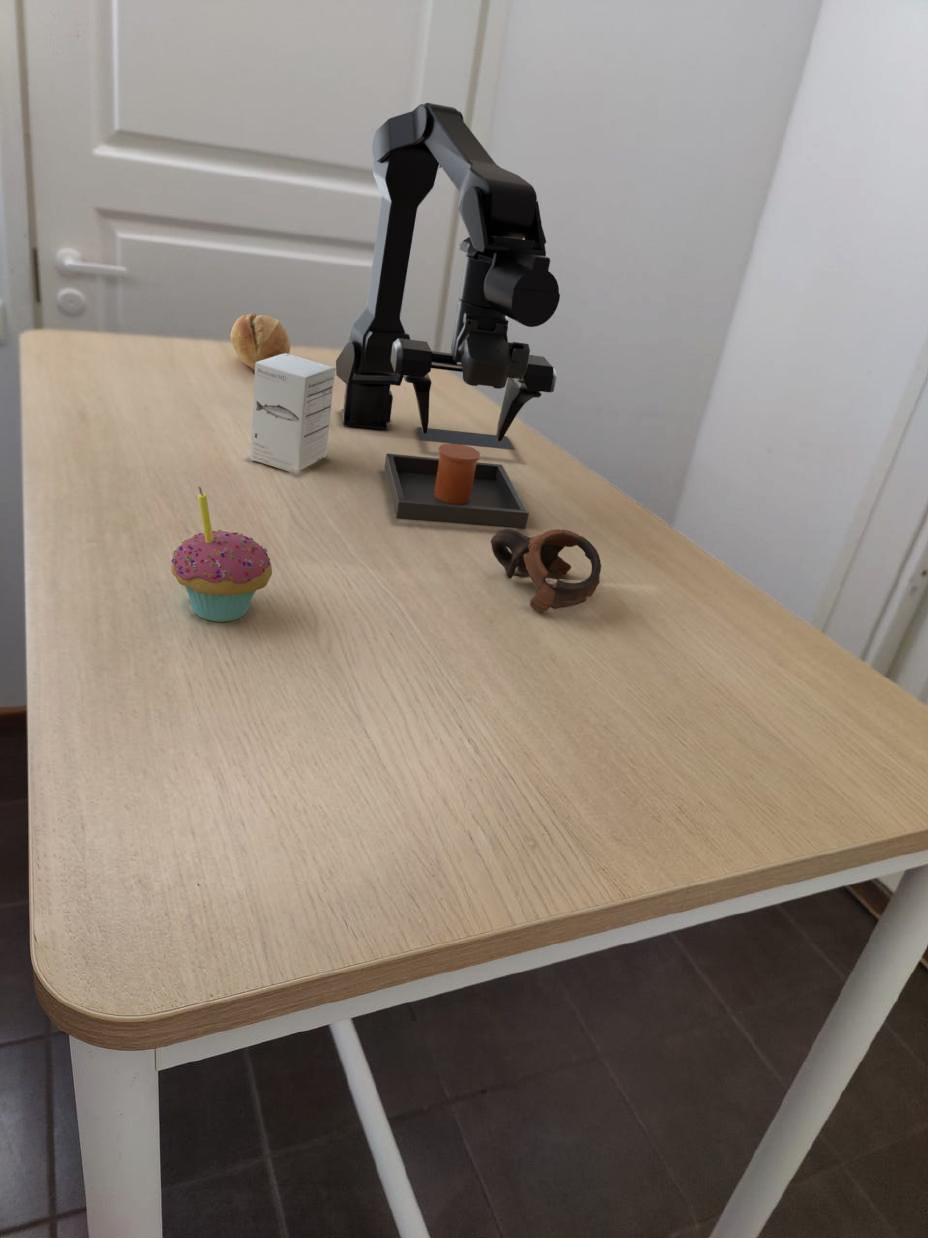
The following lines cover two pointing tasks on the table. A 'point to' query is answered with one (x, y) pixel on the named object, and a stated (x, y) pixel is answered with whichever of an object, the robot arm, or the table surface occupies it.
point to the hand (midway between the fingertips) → (461, 436)
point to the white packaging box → (291, 411)
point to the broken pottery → (547, 565)
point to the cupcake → (220, 570)
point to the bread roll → (259, 338)
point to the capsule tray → (416, 501)
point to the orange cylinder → (455, 473)
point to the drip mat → (464, 438)
